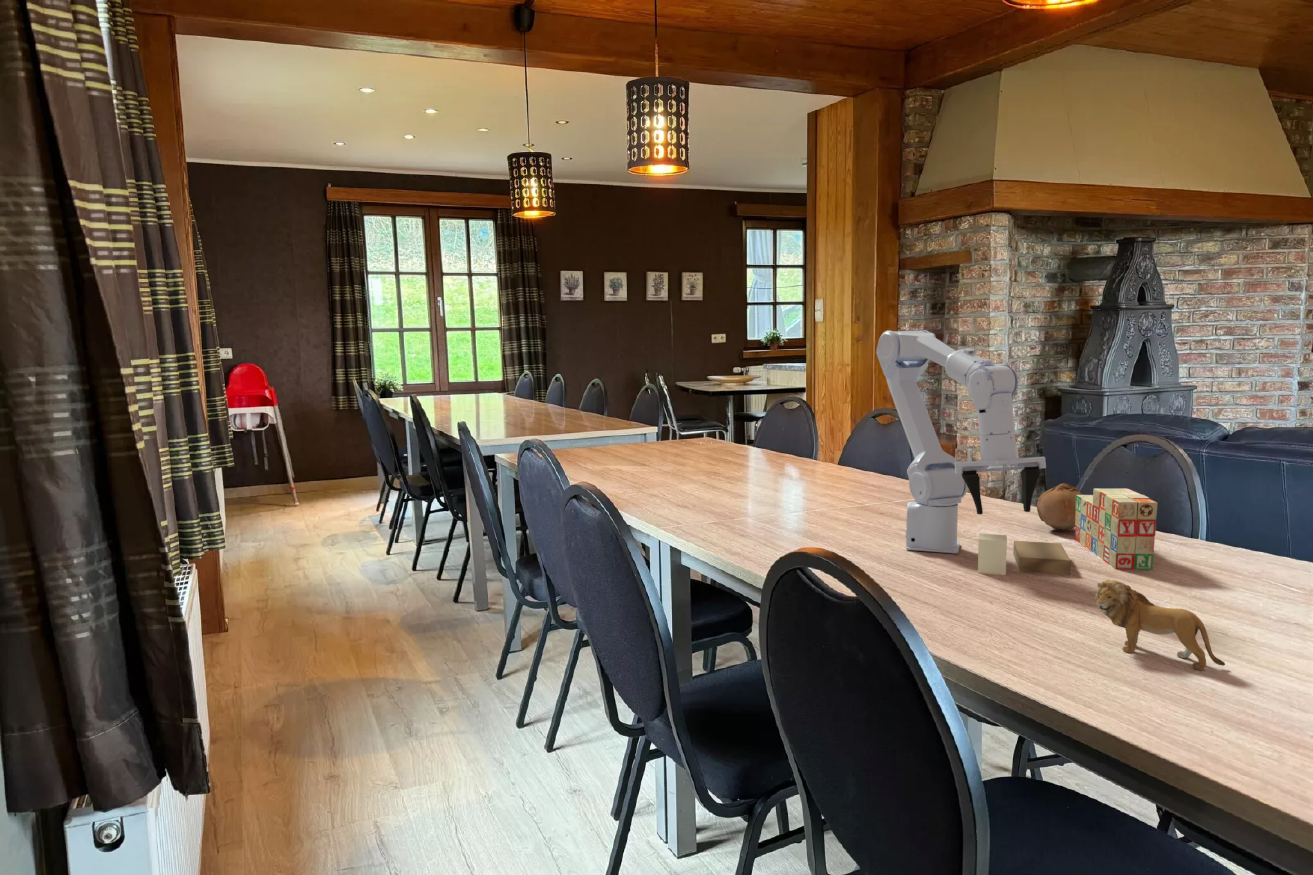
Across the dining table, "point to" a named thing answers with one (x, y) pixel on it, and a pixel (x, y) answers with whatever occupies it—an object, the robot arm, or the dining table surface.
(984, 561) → the cream block
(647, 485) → the dining table surface
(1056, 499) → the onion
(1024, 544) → the tan block
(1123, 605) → the lion figurine
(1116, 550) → the stack of blocks
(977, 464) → the robot arm
